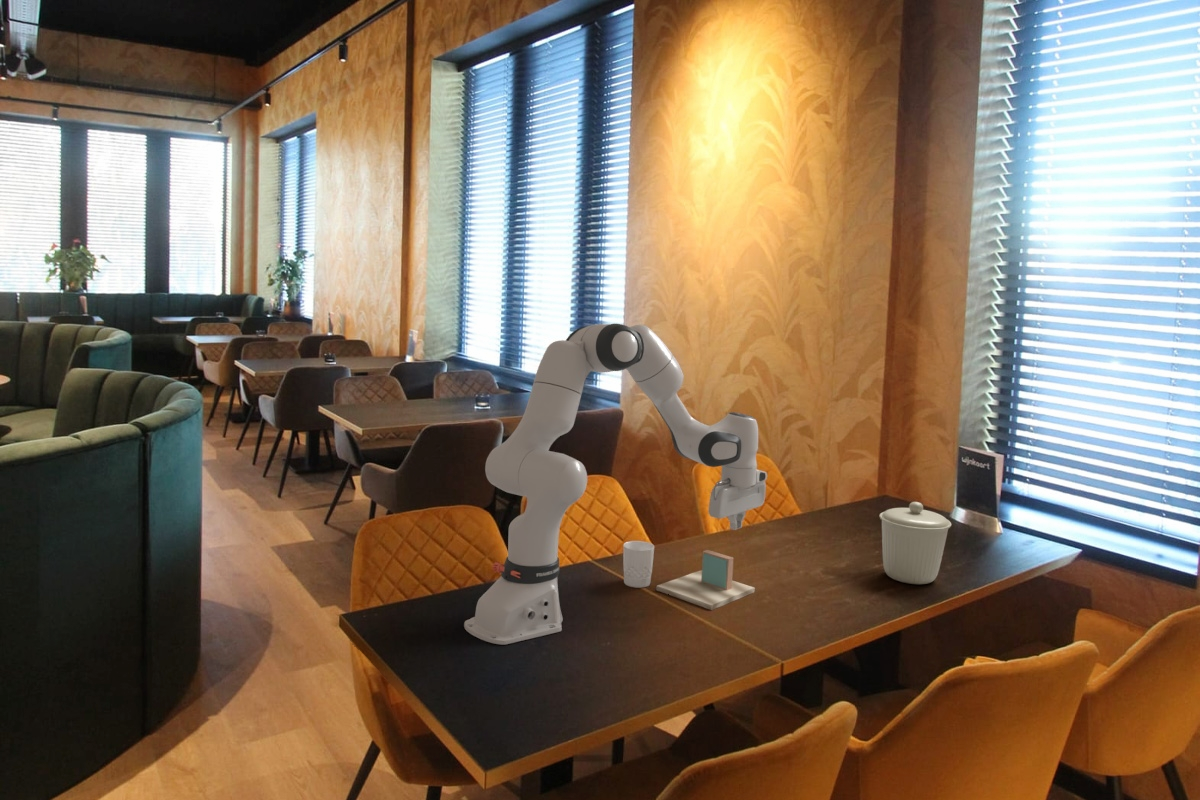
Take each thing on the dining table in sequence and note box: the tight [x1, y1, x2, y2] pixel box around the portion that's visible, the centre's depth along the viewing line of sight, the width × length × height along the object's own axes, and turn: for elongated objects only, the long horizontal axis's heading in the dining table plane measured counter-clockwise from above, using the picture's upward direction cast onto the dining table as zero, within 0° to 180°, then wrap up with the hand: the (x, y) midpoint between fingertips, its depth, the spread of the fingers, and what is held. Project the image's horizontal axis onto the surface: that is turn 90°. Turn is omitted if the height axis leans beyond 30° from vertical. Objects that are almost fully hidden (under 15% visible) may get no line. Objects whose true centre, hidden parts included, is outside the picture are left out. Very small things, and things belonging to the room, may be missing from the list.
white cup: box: [622, 540, 655, 589], centre depth 216 cm, size 8×8×10 cm
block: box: [701, 549, 735, 590], centre depth 214 cm, size 2×8×8 cm, turn 46°
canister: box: [878, 501, 952, 585], centre depth 228 cm, size 18×18×21 cm
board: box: [656, 569, 756, 611], centre depth 213 cm, size 18×17×1 cm
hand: (735, 528), depth 218 cm, fingers closed
